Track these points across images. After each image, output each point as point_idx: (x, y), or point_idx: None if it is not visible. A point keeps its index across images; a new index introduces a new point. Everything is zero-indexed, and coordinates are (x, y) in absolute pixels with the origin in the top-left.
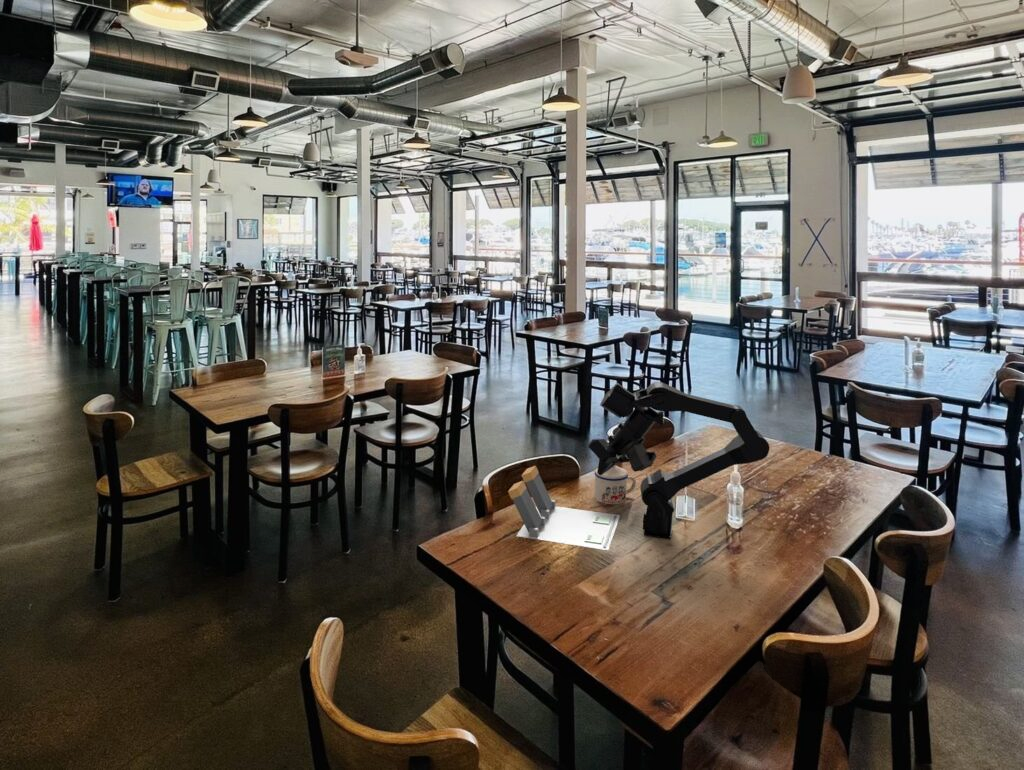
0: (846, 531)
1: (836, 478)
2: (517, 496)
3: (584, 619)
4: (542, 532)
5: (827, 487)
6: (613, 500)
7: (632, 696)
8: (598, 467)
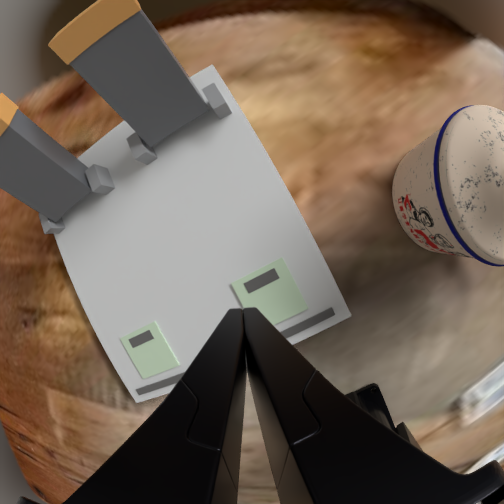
0: None
1: None
2: None
3: (26, 422)
4: (81, 220)
5: None
6: (421, 238)
7: (25, 475)
8: (211, 337)
